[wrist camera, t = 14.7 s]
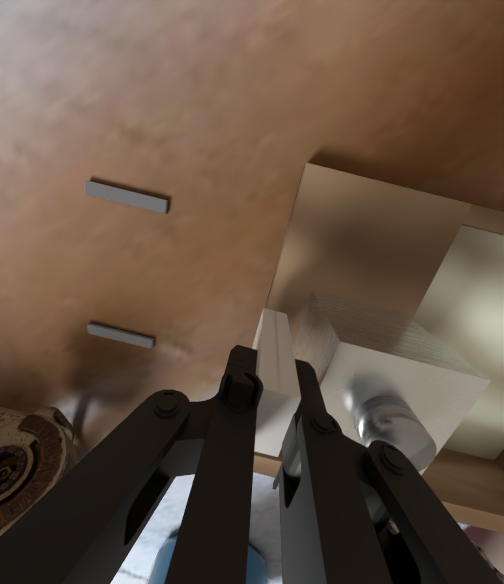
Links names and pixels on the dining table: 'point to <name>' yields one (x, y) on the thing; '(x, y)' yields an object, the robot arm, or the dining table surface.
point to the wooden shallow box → (410, 303)
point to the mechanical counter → (32, 458)
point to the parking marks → (136, 201)
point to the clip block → (386, 376)
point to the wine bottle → (255, 562)
